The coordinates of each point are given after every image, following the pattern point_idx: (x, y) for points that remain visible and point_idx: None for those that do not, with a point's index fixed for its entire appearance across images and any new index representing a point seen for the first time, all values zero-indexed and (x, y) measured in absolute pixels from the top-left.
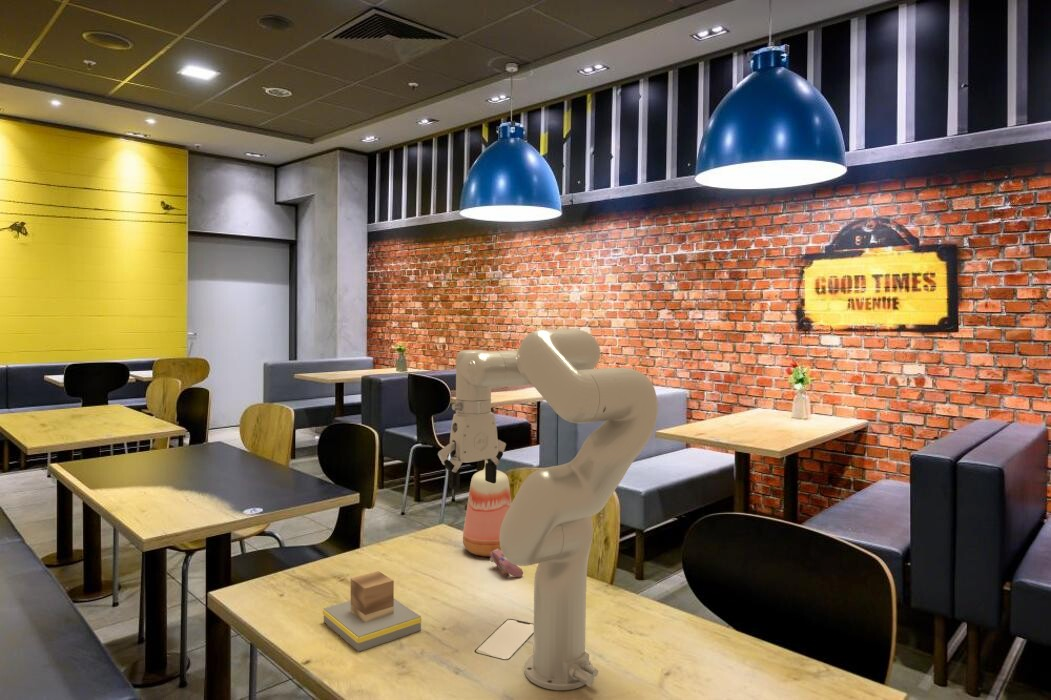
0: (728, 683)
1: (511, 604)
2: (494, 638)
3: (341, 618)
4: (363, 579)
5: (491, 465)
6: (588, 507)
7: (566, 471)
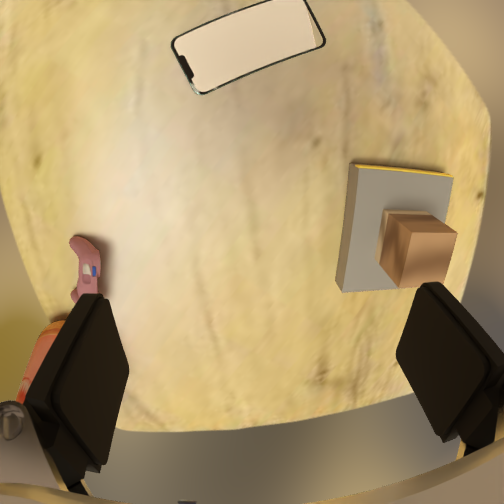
0: None
1: (153, 145)
2: (269, 53)
3: None
4: (436, 269)
5: (67, 427)
6: None
7: None
